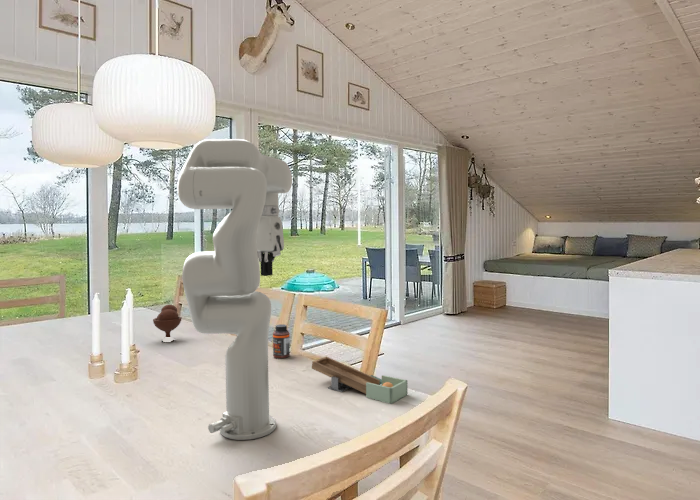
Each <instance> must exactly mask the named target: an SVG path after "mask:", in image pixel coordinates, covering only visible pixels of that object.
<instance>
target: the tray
mask: <svg viewBox="0 0 700 500" xmlns="http://www.w3.org/2000/svg"><path fill="white" fill-rule="evenodd" d="M381 379H382V384H381V385H377V384H373V383H368V382H367V383H366V394H365V398H366V397H368V398H367V399H370V398H372V399H371V400H374V399H375V401H378V400H379V401H378V402H382V403H387V404H394V403H396V402H398V401H399V400H401V399H403V398H405V397H406V396H408V395H407V394H408V380H407V379H403V378H399V377H394V376H393V377H392V376H388V375H381ZM386 382H389V383H391V384H392V385H393V387H391V388H390V387H386V386H382V385H383V384H384V383H386ZM404 396H405V397H404Z"/></svg>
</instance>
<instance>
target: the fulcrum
mask: <svg viewBox="0 0 700 500" xmlns="http://www.w3.org/2000/svg"><path fill="white" fill-rule="evenodd" d="M330 379H331V385H330V386H327V390H332V391H335V392H340V393H343V392H345V391H347V389H348V390H350V389H352V388H351V387H350V386H348V385H346V384H344V383H342V382H340V378H339V377H335V376H333V377H330ZM349 388H350V389H349Z"/></svg>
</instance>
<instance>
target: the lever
mask: <svg viewBox="0 0 700 500" xmlns="http://www.w3.org/2000/svg"><path fill="white" fill-rule="evenodd" d="M311 370H314V371H316V372H319V373H321V374H323V375H325V376H326V377H329V378H331V377H333V376H335V377H339V378H340V382H342V383H344V384H346V385H348V386H350V387H352V388H353V389H355V390H357V391H359V392H361V393H363V394H365V395H366V383H367V382H368V383H373V384H377V385H381V386H382V378H381V377H380V378H379V377H377V376H375V375H372V374H371V375H370V374H368V373H364V372H363V371H360V370H358V369H355V367H351V366H349V365H347V364H344V363H342V362H339V361H337V360H335V359H333V358H331V357H328V356H324V357H321V358H319V359H318V358H317V359H315V360H313V361H312V363H311ZM352 388H351V389H352Z"/></svg>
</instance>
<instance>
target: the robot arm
mask: <svg viewBox="0 0 700 500" xmlns="http://www.w3.org/2000/svg"><path fill="white" fill-rule="evenodd" d="M292 184H293V176H292V171H291V169H290V166H289V164H288V163H287V162H286V161H284V160H282V159H279V158H276V157H272V156H268V155H267V154H266V155H265V154H263V153H261V151H260V150H259V148H258V147H257V146H256V145H255V144H254V143H253V142H252V141H249V140H247V139H241V138H234V139H233V138H230V139H229V138H218V139H216V138H211V139H209V138H207V139H202V140H200V141H198V142H197V143H196V144H195V145H194V146H193V148H192V149H191V151H190V152H189V154H188V156H187V159H186V160H185V163H184V164H183V166H182V168H181V171H180V173H179V176H178V180H177V195H178V197H179V201H180V202H181V204H182V205H184V207H186V208H189V209H193V210H229V209H230V212H229V213H227V215H226V216H224V218H223V219H222V220H221V221H220V223H218V225H217V227H216V228H215V230H214V232H213V234H212V243H213V248H214V251H197V252H193V253H191V254H190V255H188V257H187V258H186V259H184V263H183V267H182V274H181V275H182V276H181V278H182V287H183V291H184V294H185V295H184V296H185V300H186V303H187V306H188V311H189V315H190V319H191V323H192V326H193V327H194V329H195V331H196V332H198V333H200V334H206V335H209V334H211V335H214V334H215V335H217V334H218V335H221V334H222V335H223V334H225V335H226V334H230V335H236V336H235V337H236V338H235V339H234V340H232V342H231V343H230V344H229V346H228V347H227V349H226V352H225V355H224V357H225V358H224V359H225V363H224V364H225V366H224V367H225V399H226V400H225V401H226V404H225V405H226V411H224V412H223V413H222V417H221V418H220V419H219V421H214V422H212V423H209V424H208V426H207V429H208V432H209V434H210V433H211V434H214V433H217V432H218V431H219V433H220V435H222V436H223V437H225V438H227V439H230V440H237V441H247V440H255V439H258V438H262V437H266V436H267V435H269V434H270V433H272V432H274V430H275V429H276V427H277V420H276V418H275V417H274V416H272V415H270V391H269V390H270V387H269V386H270V384H269V382H270V381H269V334H270V333H269V332H270V331H269V330H270V324H271V317H272V316H271V315H272V303H271V300H270V298H269V296H268V295H266V293H263V292H261V291H257V290H258V288H259V286H260V282H261V277H267V276H268V277H269V276H273V262H274V261H275V258H276V257H278V256H281V255H282V254H281V252H282V251H283V250H284V249H285V241H284V240H285V239H284V229H283V224H282V223H283V222H282V218H281V217H279V213H280V208H279V194H286V193H289V191H291V188H292Z"/></svg>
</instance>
